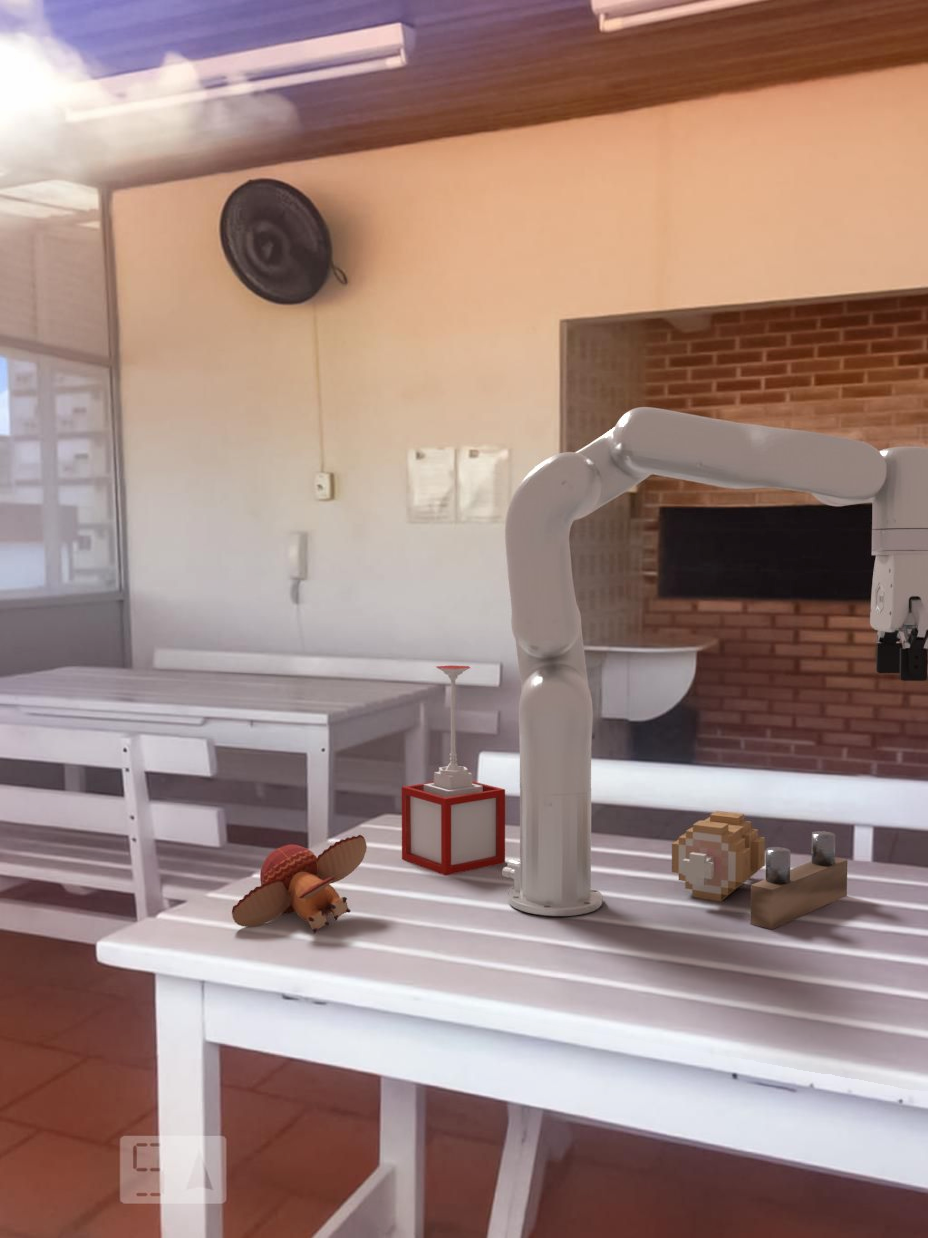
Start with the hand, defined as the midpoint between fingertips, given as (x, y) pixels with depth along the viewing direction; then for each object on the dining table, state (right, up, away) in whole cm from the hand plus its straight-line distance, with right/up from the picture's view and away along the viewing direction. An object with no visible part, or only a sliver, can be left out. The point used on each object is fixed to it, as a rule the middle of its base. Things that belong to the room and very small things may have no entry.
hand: (900, 676), depth 141 cm
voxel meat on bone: (-21, -31, +12) cm, 39 cm away
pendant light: (-58, -30, +27) cm, 71 cm away
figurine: (-78, -31, -1) cm, 84 cm away
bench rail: (-12, -31, +3) cm, 33 cm away
